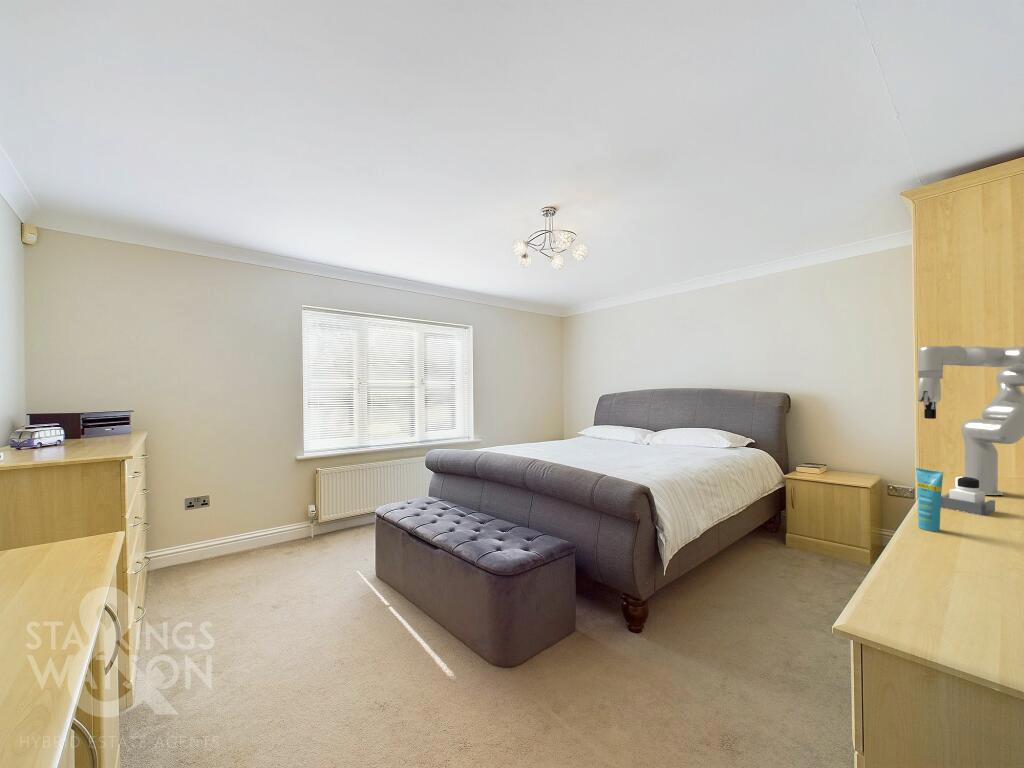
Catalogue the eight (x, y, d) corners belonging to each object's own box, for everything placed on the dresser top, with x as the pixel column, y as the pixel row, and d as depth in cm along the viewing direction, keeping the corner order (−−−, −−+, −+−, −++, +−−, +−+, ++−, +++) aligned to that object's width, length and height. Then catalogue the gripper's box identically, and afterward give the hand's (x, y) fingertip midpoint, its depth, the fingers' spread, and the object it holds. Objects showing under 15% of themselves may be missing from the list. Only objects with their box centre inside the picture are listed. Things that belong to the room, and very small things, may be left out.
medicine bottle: (985, 511, 155) (985, 478, 155) (975, 513, 152) (975, 480, 152) (958, 506, 161) (959, 474, 161) (949, 508, 159) (949, 476, 159)
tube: (910, 526, 139) (910, 467, 139) (920, 524, 140) (920, 467, 140) (938, 533, 131) (939, 472, 131) (948, 532, 133) (949, 471, 133)
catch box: (949, 503, 165) (949, 493, 165) (995, 511, 155) (995, 500, 155) (939, 507, 160) (939, 496, 160) (985, 516, 149) (985, 504, 149)
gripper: (925, 375, 186) (925, 417, 186) (911, 375, 178) (911, 418, 178) (948, 375, 179) (948, 418, 179) (935, 375, 172) (935, 420, 172)
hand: (930, 418), depth 179 cm, fingers closed
